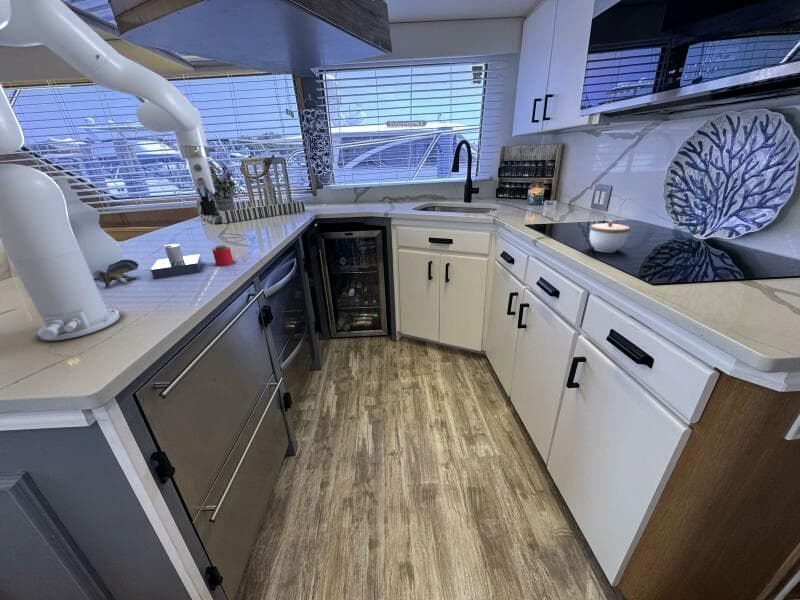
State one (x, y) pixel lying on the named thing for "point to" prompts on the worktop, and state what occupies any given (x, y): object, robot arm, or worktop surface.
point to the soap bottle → (89, 230)
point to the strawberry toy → (222, 255)
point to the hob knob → (174, 253)
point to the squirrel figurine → (116, 272)
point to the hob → (176, 267)
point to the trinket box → (608, 236)
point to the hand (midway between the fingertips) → (210, 213)
